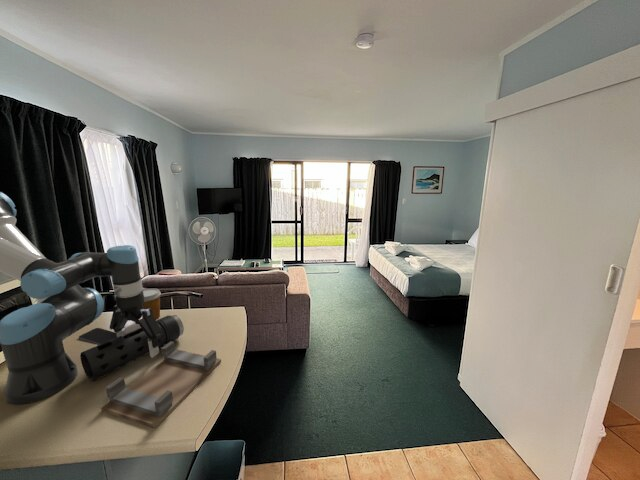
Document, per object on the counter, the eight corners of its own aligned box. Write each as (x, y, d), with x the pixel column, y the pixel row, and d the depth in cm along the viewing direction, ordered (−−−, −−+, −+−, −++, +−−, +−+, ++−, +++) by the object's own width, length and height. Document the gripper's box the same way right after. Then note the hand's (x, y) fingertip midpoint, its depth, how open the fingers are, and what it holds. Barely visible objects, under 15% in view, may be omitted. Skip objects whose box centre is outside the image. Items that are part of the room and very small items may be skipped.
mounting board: (101, 410, 73) (97, 393, 72) (177, 352, 97) (175, 338, 96) (155, 428, 68) (152, 409, 67) (221, 361, 92) (219, 347, 91)
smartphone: (105, 345, 101) (76, 337, 105) (105, 348, 101) (77, 339, 105) (124, 334, 107) (97, 327, 112) (125, 337, 108) (97, 329, 112)
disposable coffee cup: (157, 310, 127) (154, 286, 124) (168, 316, 122) (164, 291, 119) (134, 319, 119) (130, 293, 117) (144, 326, 114) (140, 299, 111)
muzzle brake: (84, 376, 86) (77, 347, 83) (172, 334, 109) (169, 310, 106) (96, 389, 81) (89, 358, 78) (186, 342, 103) (183, 316, 101)
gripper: (89, 293, 89) (100, 351, 94) (149, 303, 82) (159, 365, 87) (112, 284, 96) (122, 339, 101) (169, 293, 89) (177, 351, 94)
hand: (139, 351), depth 94 cm, fingers open, 13 cm apart
